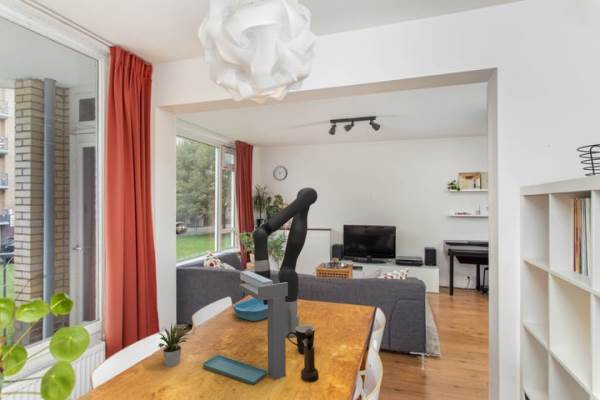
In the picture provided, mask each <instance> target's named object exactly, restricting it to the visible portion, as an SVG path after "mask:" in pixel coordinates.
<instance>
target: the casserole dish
mask: <svg viewBox="0 0 600 400" xmlns="http://www.w3.org/2000/svg"><path fill="white" fill-rule="evenodd" d="M232 307H233V309H234V310H233V311H234V314H235V315H236V316H237V317H238V318H240V319H243V320H246V321H251V322H258V321H262V320H265V319H266V318H267V319H268V304H267V305H264V304H263V300H262V301H259V300H257V299H255V298H254V297H252V298H249V299H245V300H243V301H240V302H237V303H235V304H233V305H232Z"/></svg>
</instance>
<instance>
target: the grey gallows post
mask: <svg viewBox="0 0 600 400" xmlns="http://www.w3.org/2000/svg"><path fill="white" fill-rule="evenodd" d="M238 287H239V288H238V289H239V290H240V291H242V292H244V293H245V294H247V295H248V296H250V297H252V298H255V299H257V300H259V301H262V300H268V317H267V371H268V372H267V375H268V376H269V377H270V378H271V379H272V380H274V381H275V380H278V379H281V378H285V377H286V376H287V373H286V372H287V370H286V369H287V368H286V367H287V365H286V361H287V360H286V359H287V357H286V355H287V354H286V353H287V352H286V337H285V296H288V283H287V282H284V283H280V282H278V283H273V284H271V285H264V286H258V288H257V287H255V286H253V285H251V284H249V283H247V282H245V283H240V284H239V285H238Z"/></svg>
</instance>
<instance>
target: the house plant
mask: <svg viewBox="0 0 600 400" xmlns="http://www.w3.org/2000/svg"><path fill="white" fill-rule="evenodd" d="M177 326H178V327H177ZM180 327H181V325H178V323H177V322H176V323H175V324H174V326H173V323H171V325H170V332H169V330H168V329H167V328H166V327H165V326H164V327H163V328H164V329H161V330H162V331H165V333H166V335H165V334H164V333H163V332H162V331H161V330H159V331H158V332H157V334H158V335H160V336H161V337H160V340H162V341H164V342H165V343H166V344H164V343H162V342H161V343H158V345H157V347H158V348H161V347H164V348H163V349H162V354H163V359H164V364H165V367H166V368H173V367H176V366H178V365H179V363H180V358H181V354H182V353H181V351H182V346H181V345H180V344H181V343H188V341H189V338H187V337H184V336H188V335H189V333H185V332H186V330H184V329H185V328H187V327H188V325H186V326H184V327H183V328H182V329H181V330H180V331H179V332H178V330H179V329H180ZM177 332H178V333H177ZM176 333H177V334H176ZM187 340H188V341H187Z"/></svg>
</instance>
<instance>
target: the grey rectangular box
mask: <svg viewBox="0 0 600 400" xmlns="http://www.w3.org/2000/svg"><path fill="white" fill-rule="evenodd" d="M239 273H240V274H239V275H240V276H239V278H240V280H241V281H243V282H245V283H249V284H251V285H253V286H255V287H257V288H258V286H264V285H271V284H274V283H273V280H271V279H267V278H265V277H262V276H260V275H258V274H255V272H252V271H250V270H245V271H240V272H239Z"/></svg>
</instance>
